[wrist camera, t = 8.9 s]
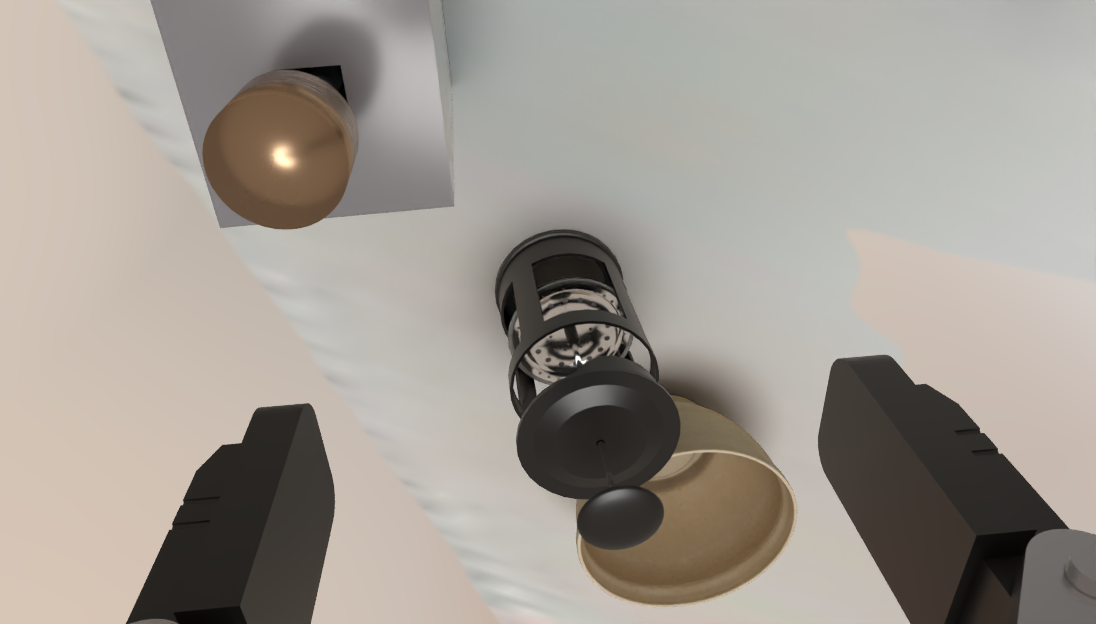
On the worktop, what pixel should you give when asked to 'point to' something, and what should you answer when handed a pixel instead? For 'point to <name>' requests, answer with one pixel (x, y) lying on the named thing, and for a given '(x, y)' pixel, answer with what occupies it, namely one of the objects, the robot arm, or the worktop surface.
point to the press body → (369, 89)
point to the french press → (586, 390)
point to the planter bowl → (702, 519)
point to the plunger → (283, 148)
